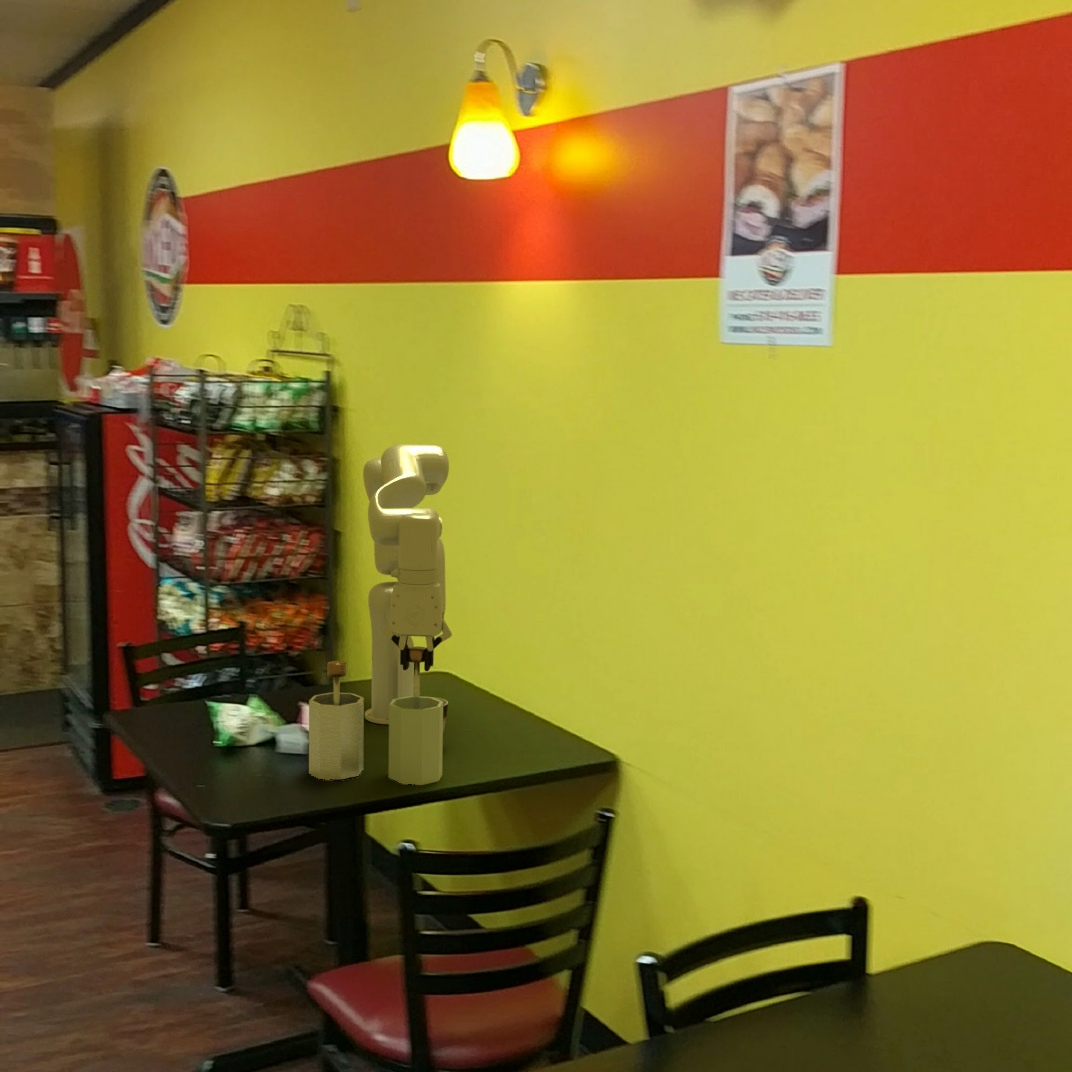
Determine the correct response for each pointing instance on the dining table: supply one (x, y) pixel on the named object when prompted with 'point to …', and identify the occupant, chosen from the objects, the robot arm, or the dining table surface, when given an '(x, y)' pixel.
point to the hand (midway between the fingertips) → (416, 668)
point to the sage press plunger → (416, 671)
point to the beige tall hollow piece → (336, 736)
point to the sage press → (415, 740)
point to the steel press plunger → (336, 677)
